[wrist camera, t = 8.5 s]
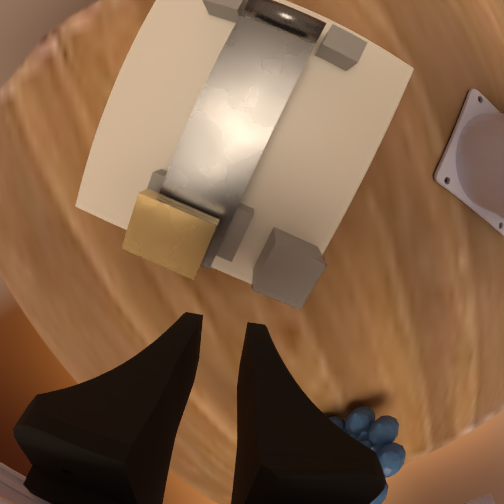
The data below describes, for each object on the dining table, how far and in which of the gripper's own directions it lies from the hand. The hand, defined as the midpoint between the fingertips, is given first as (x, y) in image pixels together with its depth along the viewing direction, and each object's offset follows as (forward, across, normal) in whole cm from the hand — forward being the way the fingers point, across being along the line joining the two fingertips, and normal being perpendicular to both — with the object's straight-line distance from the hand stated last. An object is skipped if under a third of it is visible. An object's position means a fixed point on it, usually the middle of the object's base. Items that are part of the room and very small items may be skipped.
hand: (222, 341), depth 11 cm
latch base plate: (+10, +1, -8) cm, 13 cm away
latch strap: (+8, +1, -7) cm, 11 cm away
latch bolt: (+6, +3, -2) cm, 7 cm away
